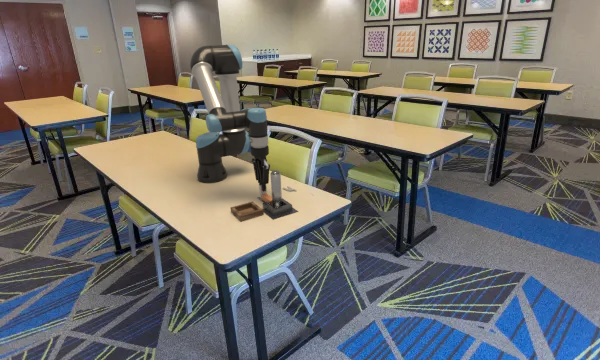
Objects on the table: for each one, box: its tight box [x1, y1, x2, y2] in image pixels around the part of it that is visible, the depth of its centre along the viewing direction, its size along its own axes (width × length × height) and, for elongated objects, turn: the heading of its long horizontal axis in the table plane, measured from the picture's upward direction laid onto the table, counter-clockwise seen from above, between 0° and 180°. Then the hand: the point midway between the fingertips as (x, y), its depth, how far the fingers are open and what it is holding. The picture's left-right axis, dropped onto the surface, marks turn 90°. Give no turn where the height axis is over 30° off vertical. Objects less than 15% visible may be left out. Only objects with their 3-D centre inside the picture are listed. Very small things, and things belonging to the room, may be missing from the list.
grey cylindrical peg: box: [269, 170, 283, 208], centre depth 145 cm, size 4×4×17 cm
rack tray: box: [230, 200, 265, 222], centre depth 145 cm, size 10×10×3 cm
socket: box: [256, 196, 299, 221], centre depth 152 cm, size 23×12×3 cm, turn 32°
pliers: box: [282, 186, 314, 196], centre depth 164 cm, size 10×2×15 cm
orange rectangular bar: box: [262, 192, 272, 206], centre depth 154 cm, size 8×2×2 cm, turn 32°
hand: (263, 196), depth 158 cm, fingers closed
